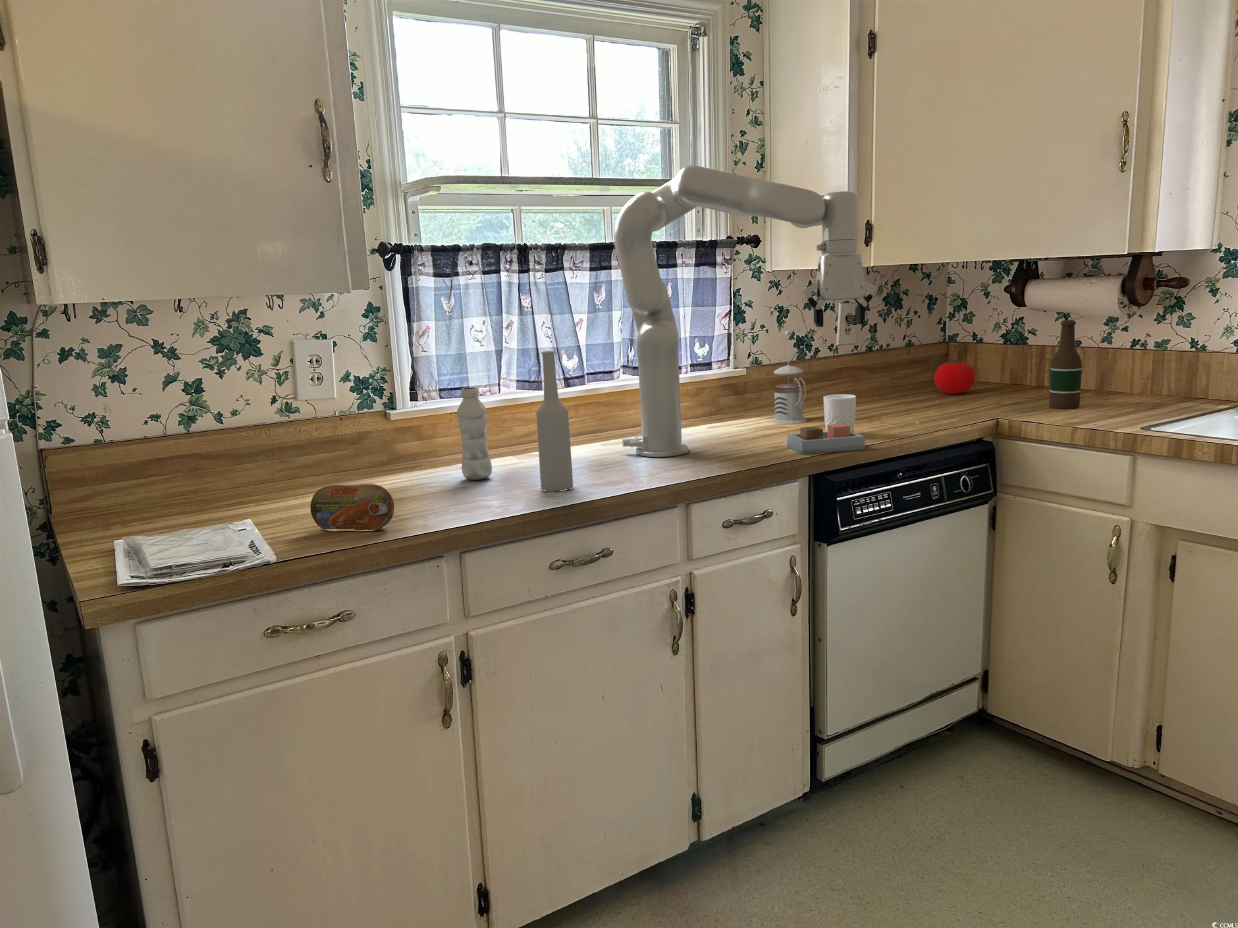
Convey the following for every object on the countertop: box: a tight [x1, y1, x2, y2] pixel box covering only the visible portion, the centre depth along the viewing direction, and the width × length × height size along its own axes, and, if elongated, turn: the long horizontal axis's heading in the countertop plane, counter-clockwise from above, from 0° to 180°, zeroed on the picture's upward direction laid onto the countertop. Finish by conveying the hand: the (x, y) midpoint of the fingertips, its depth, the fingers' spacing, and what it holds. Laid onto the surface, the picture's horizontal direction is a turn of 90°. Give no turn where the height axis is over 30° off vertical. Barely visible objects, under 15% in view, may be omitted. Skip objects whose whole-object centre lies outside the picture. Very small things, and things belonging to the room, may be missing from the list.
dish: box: [786, 430, 866, 455], centre depth 213 cm, size 15×10×3 cm, turn 99°
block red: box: [827, 424, 850, 438], centre depth 214 cm, size 4×4×4 cm
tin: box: [309, 483, 395, 531], centre depth 161 cm, size 15×3×8 cm, turn 80°
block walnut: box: [799, 426, 824, 440], centre depth 212 cm, size 4×4×4 cm
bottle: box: [536, 350, 574, 492], centre depth 183 cm, size 7×7×28 cm
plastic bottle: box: [456, 386, 493, 481], centre depth 196 cm, size 6×7×20 cm
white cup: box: [823, 393, 857, 433], centre depth 226 cm, size 8×8×10 cm
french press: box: [771, 330, 807, 425], centre depth 250 cm, size 10×12×25 cm
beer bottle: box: [1048, 319, 1083, 410], centre depth 250 cm, size 8×8×24 cm
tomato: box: [933, 360, 976, 395], centre depth 287 cm, size 11×12×10 cm
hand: (839, 325), depth 208 cm, fingers open, 9 cm apart
